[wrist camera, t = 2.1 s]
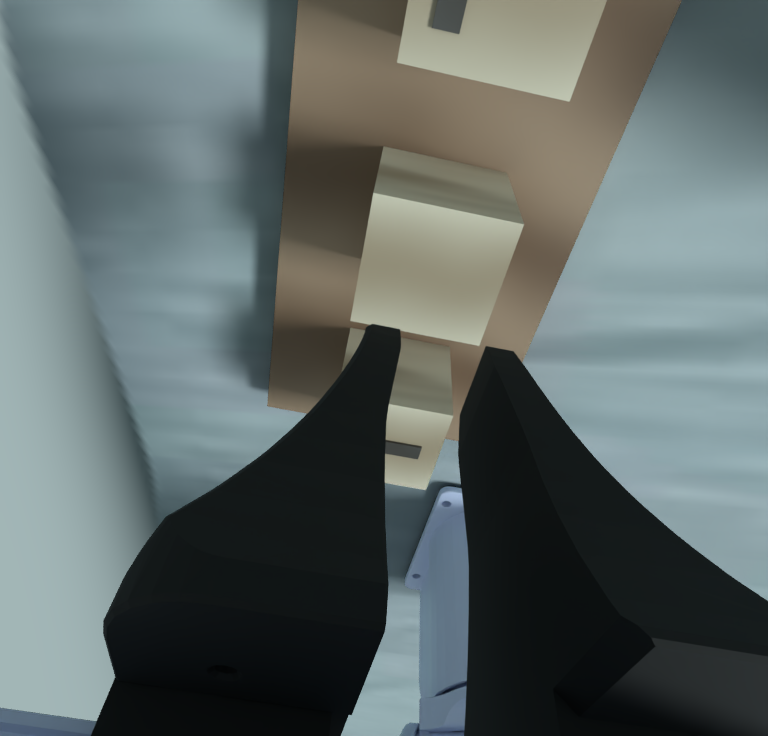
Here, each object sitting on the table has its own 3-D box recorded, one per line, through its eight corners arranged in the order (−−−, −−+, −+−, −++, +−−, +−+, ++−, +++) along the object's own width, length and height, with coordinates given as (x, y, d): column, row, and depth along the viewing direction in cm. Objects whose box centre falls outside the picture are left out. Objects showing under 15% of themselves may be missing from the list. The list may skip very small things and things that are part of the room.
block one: (426, 418, 24) (425, 492, 21) (337, 401, 24) (322, 474, 21) (449, 347, 22) (453, 418, 18) (350, 327, 21) (336, 396, 18)
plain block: (471, 281, 20) (479, 346, 17) (362, 259, 20) (350, 321, 16) (507, 172, 17) (524, 224, 14) (383, 146, 17) (373, 192, 14)
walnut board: (483, 430, 26) (485, 445, 25) (272, 391, 25) (267, 406, 24) (725, -136, 13) (743, -140, 13) (324, -241, 13) (317, -253, 12)
